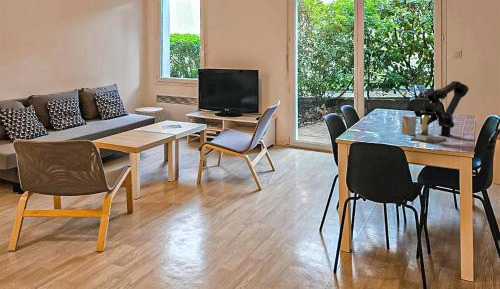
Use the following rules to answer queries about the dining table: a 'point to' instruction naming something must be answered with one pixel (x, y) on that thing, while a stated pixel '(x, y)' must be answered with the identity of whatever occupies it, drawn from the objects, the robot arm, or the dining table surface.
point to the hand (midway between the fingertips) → (424, 124)
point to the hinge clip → (424, 136)
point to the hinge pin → (424, 124)
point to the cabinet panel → (432, 141)
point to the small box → (409, 124)
